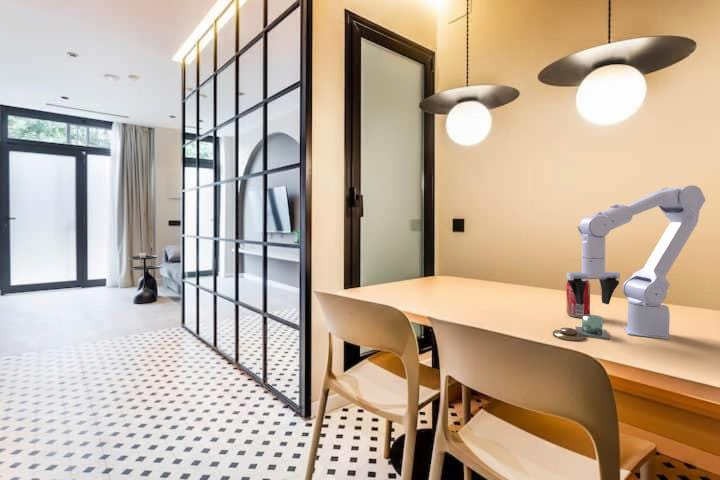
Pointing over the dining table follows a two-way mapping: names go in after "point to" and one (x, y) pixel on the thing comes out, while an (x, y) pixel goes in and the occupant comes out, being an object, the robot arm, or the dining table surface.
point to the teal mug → (592, 324)
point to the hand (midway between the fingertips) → (592, 303)
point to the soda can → (572, 306)
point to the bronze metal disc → (568, 334)
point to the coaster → (601, 336)
